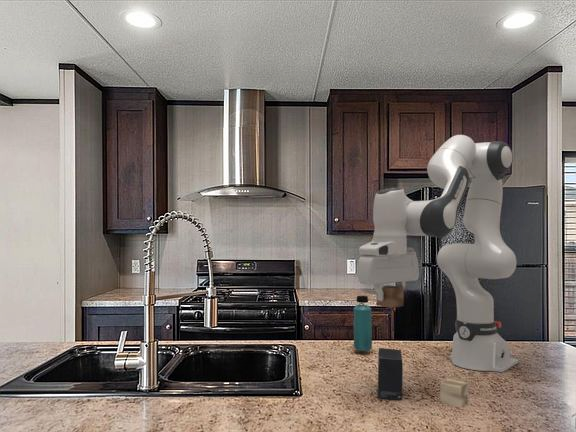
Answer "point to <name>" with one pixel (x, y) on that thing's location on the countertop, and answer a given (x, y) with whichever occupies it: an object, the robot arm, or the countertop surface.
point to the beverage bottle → (362, 325)
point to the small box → (390, 374)
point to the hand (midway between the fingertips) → (389, 299)
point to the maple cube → (453, 393)
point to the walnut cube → (392, 297)
